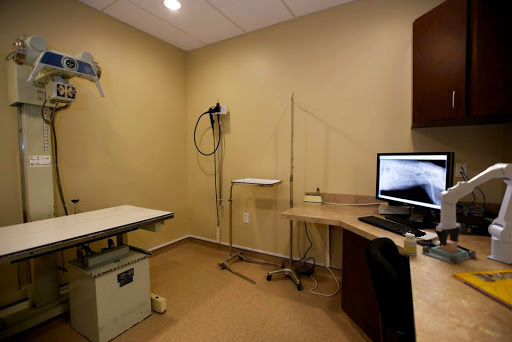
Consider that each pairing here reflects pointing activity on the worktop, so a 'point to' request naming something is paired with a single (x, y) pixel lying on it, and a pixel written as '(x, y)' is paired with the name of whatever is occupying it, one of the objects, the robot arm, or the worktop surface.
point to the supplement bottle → (410, 244)
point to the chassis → (448, 254)
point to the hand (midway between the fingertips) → (448, 243)
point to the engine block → (450, 247)
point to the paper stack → (428, 235)
